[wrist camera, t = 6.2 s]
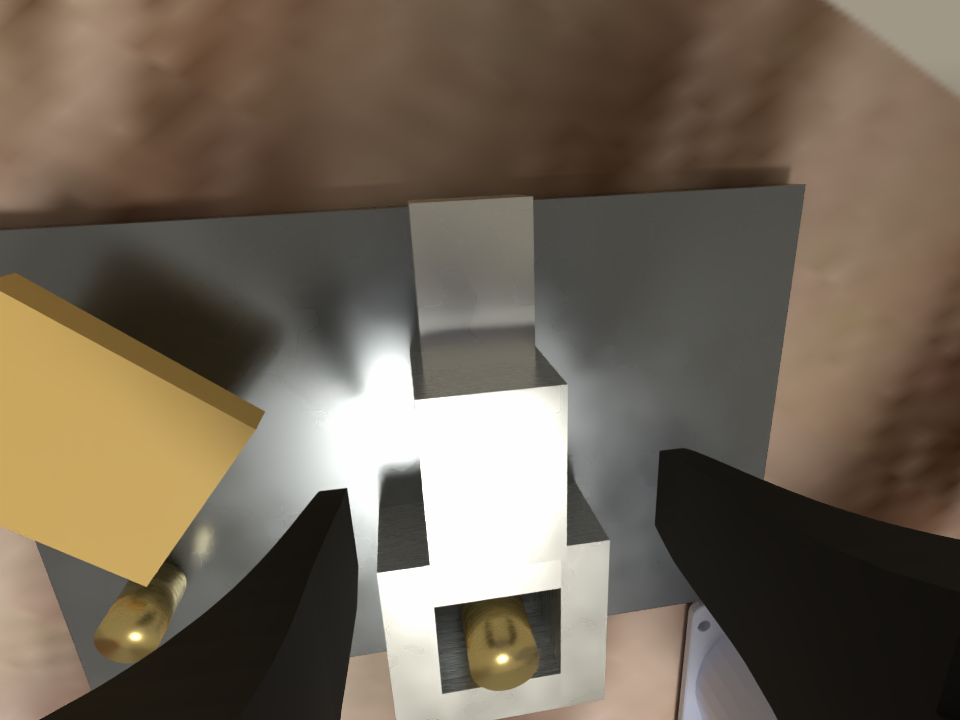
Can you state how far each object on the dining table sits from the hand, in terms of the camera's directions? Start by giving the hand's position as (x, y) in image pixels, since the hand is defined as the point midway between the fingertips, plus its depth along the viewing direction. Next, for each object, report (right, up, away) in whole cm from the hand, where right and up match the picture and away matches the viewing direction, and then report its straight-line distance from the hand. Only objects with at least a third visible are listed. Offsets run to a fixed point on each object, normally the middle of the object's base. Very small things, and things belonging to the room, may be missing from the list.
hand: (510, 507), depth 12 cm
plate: (-2, +1, +5) cm, 6 cm away
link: (-1, +1, +5) cm, 5 cm away
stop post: (-11, -4, +4) cm, 12 cm away
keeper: (-10, +2, +2) cm, 11 cm away
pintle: (0, -4, +6) cm, 8 cm away
